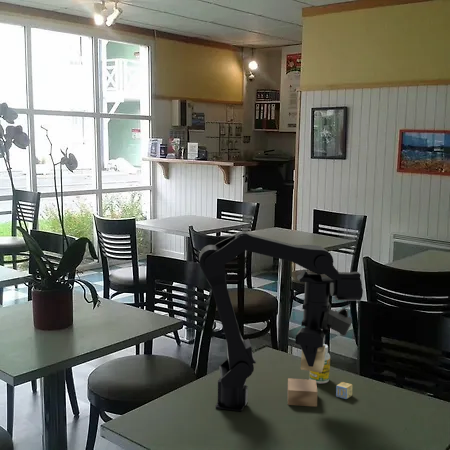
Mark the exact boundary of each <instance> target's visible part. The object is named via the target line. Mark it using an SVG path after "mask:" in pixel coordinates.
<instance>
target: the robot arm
mask: <svg viewBox="0 0 450 450" xmlns="http://www.w3.org/2000/svg"><path fill="white" fill-rule="evenodd" d="M246 251H247V252H252V253H255V254H259V255H263V256H267V257H271V258H274V259H279V260H283V261H287V262H291V263H294V264H295V265H298V266H300V267H301V268H304V270H302V272H301V273H299V274H298V275H297V276H296V279H297V280H298V282H299V283H304V295H303V297H304V299H303V300H304V301H303V304H302V309H301V310H303V315H302V316H303V317H302V320H301V328H300V329H299V330H298V331H297V332H296V335H295V344H296V345H298V346H300V348H301V351H302V350H303V353H304V355H305V358H306V361H307V363H308V366H311V367H313V365H314V362H315V358H316V354H317V350H318V348H319V347H323V345H324V344H325V343H326V336H327V334H328V333H329V331H330V330H333V331H335V332H337V333H339V334H340V335H342V336H346V335H347V334H348V331H349V329H350V327H351V325H352V321H353V319H352V317H351V316H349V310H348V309H345V308H344V307H342V308H341V309H339V310H333V309H331V304H330V302H329V299H330V298H329V297H330V296H331V297H332V296H333V297H334V299H335V301H349V302H350V301H354V302H355V301H356V302H360V301H361V300H362V298H363V293H364V289H363V284H362V280H361V277H362V276H361V273H360V272H359V271H351V272H349V271H348V272H347V271H346V272H345V271H344V272H343V271H342V272H341V271H339V270H338V269H336V267H335V266H334V258H333V256H332V254H331V253H330V252H329V251H328V250H326V248H324V247H323V246H321V245H313V244H292V243H288V242H286V241H285V242H284V241H279V240H277V239H272V238H268V237H265V236H260V235H257V234H253V233H249V232H247V231H246V230H245V231H244V230H242V231H238V232H237V233H236V234H234V235H232V236H229V237H228V238H225V239H223V240H221V241H219V242H217V243H216V244H208V245H206V246H204V247H202V248H201V250H200V251H199V255H198V259H199V266H200V269H201V271H202V273H203V275H204V277H205V280H206V281H207V282H208V284H209V286H210V289H211V291H212V295H213V298H214V302H215V305H216V308H217V312H218V315H219V319H220V324H221V326H222V329H223V333H224V337H225V341H226V352H227V358H225V360H224V361H223V362H222V363H221V364H220V365H219V366H218V367H219V375H220V376H219V378H218V380H217V403H216V405H215V409H218V410H219V409H220V410H225V411H227V410H228V411H232V412H233V411H235V412H242V411H244V407H246V405H247V403H248V401H249V398H248V397H249V387H248V385H247V379H249V377H250V376H252V374H253V373H254V370H255V369H254V368H255V366H254V364H257V361H256V359H255V355H254V351H253V349H252V345H251V341H250V339H249V338H247V339H243V336H242V335H241V331H240V328H239V324H238V320H237V318H236V314H235V311H234V306H233V303H232V299H231V296H230V292H229V288H228V285H227V274H226V264H228V263H230V262H231V261H233V260H234V259H235V258H237V257H238V256H239V255H240V254H242V253H244V252H246ZM305 269H306V270H308V271H310V272H312V273H308V271H306V270H305ZM322 275H325V276H324V277H323V276H322Z"/></svg>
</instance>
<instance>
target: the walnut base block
mask: <svg viewBox="0 0 450 450" xmlns="http://www.w3.org/2000/svg"><path fill="white" fill-rule="evenodd" d="M317 384H318V383H316V380H310V378H308V379H305V378H289V377H288V378H287V406H303V407H304V406H305V407H318V387H317Z"/></svg>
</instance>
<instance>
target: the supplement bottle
mask: <svg viewBox="0 0 450 450" xmlns="http://www.w3.org/2000/svg"><path fill="white" fill-rule="evenodd" d="M324 345H325V361H324V367H323V370H322V373H321V372H314V371H309V378H308V379H309V380H316V384H327V383H329V381H330V372H331V371H330V370H331V355H330V353H329V346H328V344H325V343H324Z"/></svg>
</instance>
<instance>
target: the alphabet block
mask: <svg viewBox="0 0 450 450" xmlns="http://www.w3.org/2000/svg"><path fill="white" fill-rule="evenodd" d="M335 392H336V393H335V396H336V397H337V398H341V399H345V400H347V399H349V398H351V397H352V396H353V384H352V383H348V382H344V381H341V382H340V383H338V384H336V386H335Z"/></svg>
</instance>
